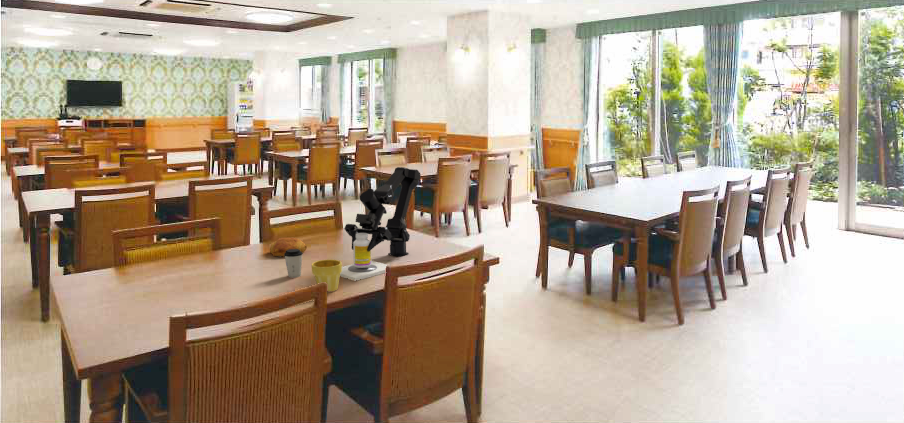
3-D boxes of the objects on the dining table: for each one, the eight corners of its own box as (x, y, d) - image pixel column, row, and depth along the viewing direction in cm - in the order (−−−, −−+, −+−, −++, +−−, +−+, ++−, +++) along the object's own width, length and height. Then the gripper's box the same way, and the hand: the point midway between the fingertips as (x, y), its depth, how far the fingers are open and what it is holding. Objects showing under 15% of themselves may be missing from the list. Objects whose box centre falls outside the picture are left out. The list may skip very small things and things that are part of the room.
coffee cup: (307, 274, 242) (306, 249, 240) (297, 279, 235) (295, 253, 233) (291, 272, 244) (290, 247, 242) (281, 277, 238) (279, 252, 236)
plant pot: (316, 296, 215) (314, 268, 214) (310, 287, 225) (308, 261, 223) (345, 291, 220) (344, 264, 218) (338, 284, 229) (337, 258, 227)
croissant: (278, 253, 282) (275, 236, 281) (311, 250, 280) (308, 232, 279) (264, 261, 268) (260, 243, 267) (298, 257, 266) (294, 239, 264)
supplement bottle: (372, 267, 243) (372, 235, 240) (356, 269, 240) (355, 236, 238) (368, 262, 249) (367, 231, 246) (351, 264, 246) (351, 232, 244)
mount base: (369, 262, 257) (369, 259, 257) (395, 269, 247) (395, 266, 246) (329, 273, 243) (329, 269, 243) (355, 281, 232) (355, 277, 232)
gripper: (345, 203, 247) (330, 237, 240) (386, 206, 240) (372, 241, 232) (357, 219, 256) (343, 252, 248) (397, 222, 248) (384, 256, 240)
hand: (360, 250), depth 242 cm, fingers closed on supplement bottle, 7 cm apart
